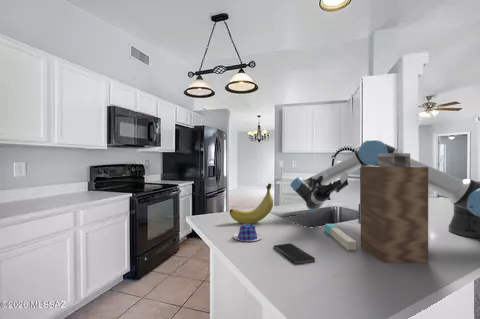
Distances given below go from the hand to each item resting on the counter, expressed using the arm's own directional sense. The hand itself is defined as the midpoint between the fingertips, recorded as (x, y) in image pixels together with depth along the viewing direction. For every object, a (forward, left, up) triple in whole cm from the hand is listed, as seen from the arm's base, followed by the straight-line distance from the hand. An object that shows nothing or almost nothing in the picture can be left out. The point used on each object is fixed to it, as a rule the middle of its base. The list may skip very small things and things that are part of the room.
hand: (336, 174), depth 97 cm
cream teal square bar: (0, +3, -26) cm, 26 cm away
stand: (-12, +17, -26) cm, 34 cm away
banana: (+34, -22, -27) cm, 49 cm away
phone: (+22, +18, -27) cm, 39 cm away
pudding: (+37, +1, -27) cm, 46 cm away
